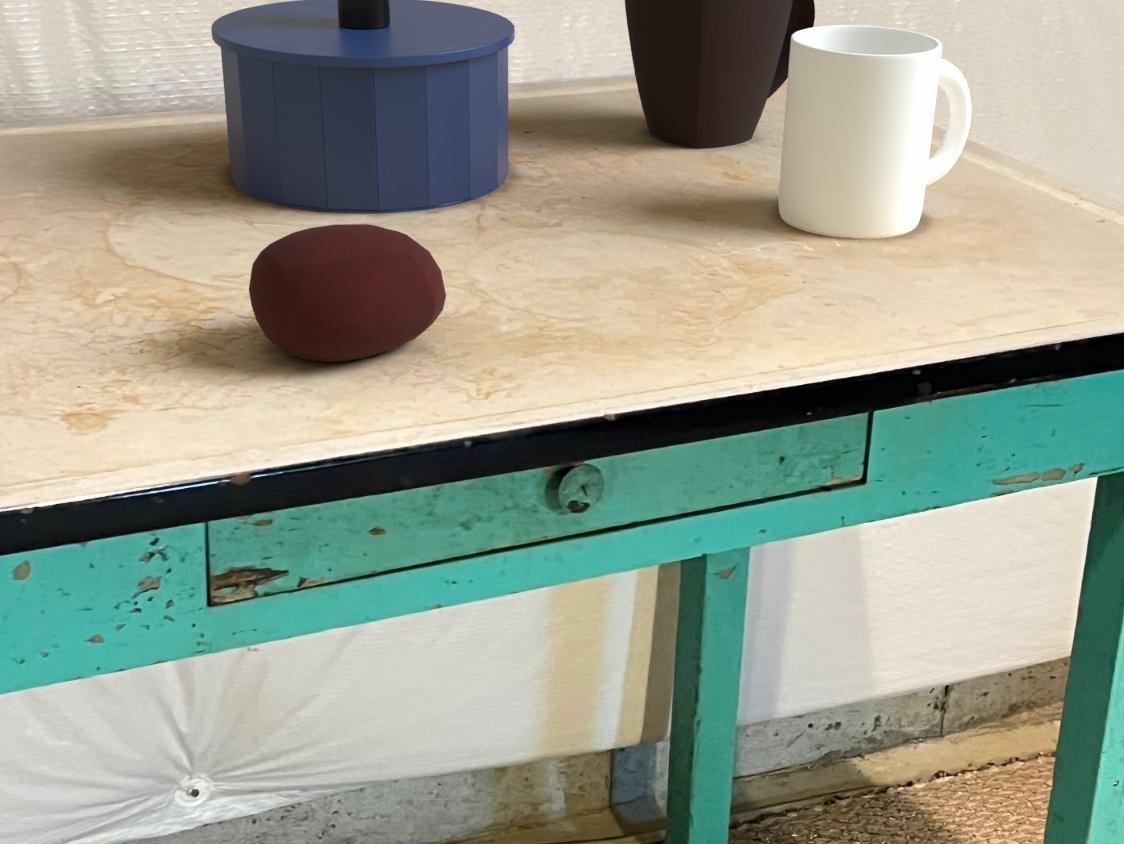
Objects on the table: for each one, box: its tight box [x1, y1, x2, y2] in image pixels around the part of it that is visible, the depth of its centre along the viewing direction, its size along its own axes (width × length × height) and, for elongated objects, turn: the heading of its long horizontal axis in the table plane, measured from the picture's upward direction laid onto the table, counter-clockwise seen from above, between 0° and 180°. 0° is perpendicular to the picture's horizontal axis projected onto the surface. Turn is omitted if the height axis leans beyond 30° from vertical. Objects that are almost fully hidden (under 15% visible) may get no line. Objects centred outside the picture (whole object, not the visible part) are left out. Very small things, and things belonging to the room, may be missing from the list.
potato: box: [248, 223, 447, 363], centre depth 77 cm, size 8×9×6 cm
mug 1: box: [624, 0, 816, 150], centre depth 112 cm, size 10×14×12 cm
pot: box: [220, 46, 509, 215], centre depth 102 cm, size 17×17×8 cm
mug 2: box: [778, 24, 972, 240], centre depth 97 cm, size 12×8×10 cm
